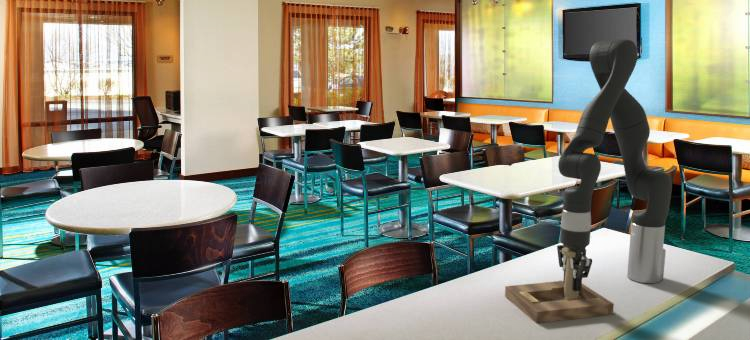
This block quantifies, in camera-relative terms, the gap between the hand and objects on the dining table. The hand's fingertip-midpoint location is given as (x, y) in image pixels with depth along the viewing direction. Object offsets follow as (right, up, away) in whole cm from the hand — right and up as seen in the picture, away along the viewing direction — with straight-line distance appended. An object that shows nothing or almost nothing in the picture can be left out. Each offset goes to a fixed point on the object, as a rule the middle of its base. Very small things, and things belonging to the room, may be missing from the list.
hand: (572, 287), depth 166 cm
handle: (0, -4, +1) cm, 4 cm away
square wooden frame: (-4, -5, 0) cm, 6 cm away
